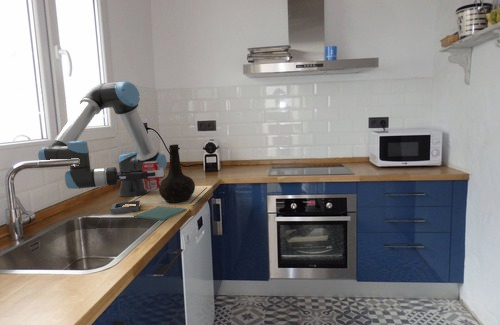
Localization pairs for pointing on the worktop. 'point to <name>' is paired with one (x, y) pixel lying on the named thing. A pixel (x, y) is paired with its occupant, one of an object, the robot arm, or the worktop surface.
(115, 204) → the gray square tray
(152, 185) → the soda can
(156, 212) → the mat
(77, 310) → the worktop surface
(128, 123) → the robot arm
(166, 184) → the glass bottle
